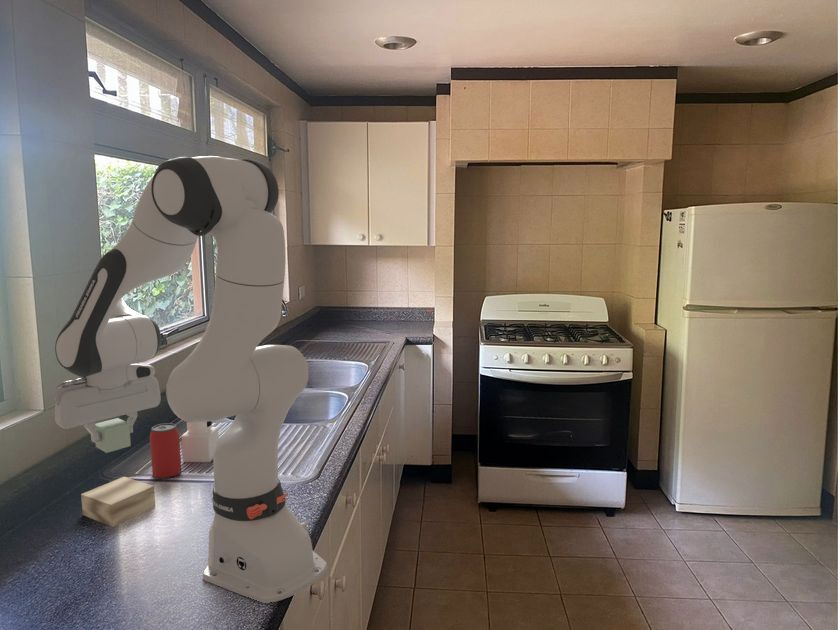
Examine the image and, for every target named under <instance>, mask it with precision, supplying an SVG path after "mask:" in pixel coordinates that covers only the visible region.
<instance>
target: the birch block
mask: <svg viewBox="0 0 840 630" xmlns="http://www.w3.org/2000/svg"><path fill="white" fill-rule="evenodd" d="M80 497H81V498H80V499H81V509H82V516H85V517H87V518H89V519H92V520H94V521H97V522H100V523H102V524H105V525H108V526H109V527H112V528H113V527H115V526H117V525H118V526H119V525H120V524H122V523H124V522H126V521H128V520H130V519H132V518H135V517H136V516H137V517H138V516H139V515H140V514H143V513H146V512H147V511H149V510H151V509H153V508H155V507H156V495H155V485H152V484H149V483H146V482H143V481H139V480H135V479H134V478H130V477H127V476H122V477H119V478H117V479H114V480H112V481H109V482H107V483H105V484H103V485H100V486H97V487H95V488H92V489H90V490H88V491H85V492H83V493H81V494H80Z"/></svg>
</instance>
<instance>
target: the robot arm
mask: <svg viewBox="0 0 840 630" xmlns="http://www.w3.org/2000/svg"><path fill="white" fill-rule="evenodd" d="M279 194H280V193H279V185H278V180H277V179H276V177H275V174H274V173H273V172H272V170H271V169H270V168H269V167H268V166H266V165H265V164H262V163H260V162H258V161H254V160H250V159H237V158H229V157H222V156H220V155H219V156H217V155H216V156H215V155H214V156H213V155H208V156H207V155H206V156H194V157H190V156H179V157H175V158H171V159H167V160H165V161H164V162H162V163H160V164H159V165H158V166H157V168H156V169H155V170H154V173H153V174H152V176H151V177H150V178H149V180H148V182H147V183H146V186H145V187H144V190H143V192H142V193H141V195H140V197H139V199H138V203H137V205H136V207H135V211H134V213H133V217H132V219H131V222H130V225H129V227H128V229H127V230H126V232H125V233H124V235H123V236H122V237H121V239H120V240H119V241H118V242H117V243H116V244H115V245H114V246H113V248H111V249H110V250H108V252H106V253H105V254H103V256H101V258H100V259H99V261H98V263H97V264H96V266H95V268H94V270H93V272H92V274H91V276H90V277H89V280H88V282H87V284H86V286H85V289H84V290H83V293H82V294H81V296H80V298H79V300H78V303H77V305H76V306H75V309H74V311H73V313H72V315H71V317H70V318H69V320H68V321H67V322H66V323H65V325H64V326H63V327H62V329H61V330H60V332H59V333H58V335H57V337H56V340H55V348H54V350H55V356H56V359H57V361H58V363H59V366H61V367H62V368H63V369H65V370H66V371H68V372H69V373H71V374H73V375H75V376H77V377H78V378H75V379H71V380H64V381H61V382H60V383H59V384H57V385H56V386H55V387H54V388H53V391H52V395H53V401H54V403H55V404H54V422H55V424H57V425H58V427H60V428H63V429H64V430H67V429H71V428H76V427H81V426H83V427H84V428H85V430H86V431H88V433H89V434H90V439H91V440H90V441H91V442H92V443H95V442H99V441H102V438H101V437H102V433H100V432H98V431H95V430H94V427H95V424H96V422H97V423H98V422H100V421H101V422H102V421H103V420H105V421H106V420H110V419H111V418H113V419H114V418H118V417H121V416H124V415H126V416H128V417H127V420H126V422H128V423H129V429H130V434H131V433H134V424H135V422H136V421H137V417H138V412H140V411H144V410H148V409H153V408H157V407H158V406H159V405H160V402H162V401H161V390H160V389H161V388H160V384H159V381H158V378H156V376H155V375H156V374H155V373H156V368H155V367H154V366H153V365H150V364H148V363H146V361H149V360H152V359H154V358H155V357H156V355H157V354H158V353H159V351H160V349H161V348H160V347H161V343H162V333H161V330H160V326H159V325H158V323H157V322H156V321H155V320H154V319H153V318H152V317H150V316H148V315H146V314H141V313H139V312H138V311H136V310H134V309H132V308H131V307H129V306H128V305H127V304H126V302H125V300H124V296H126V295H127V294H129V293H130V292H131V291H133V290H135V289H137V288H139V287H140V286H143V285H146V284H149V283H151V282H154V281H156V280H160V279H163V278H166V277H169V276H171V275H173V274H175V273H177V272H178V271H180V270H181V269H182V268H183V267H184V266H185V265H186V264H187V263H188V262H189V259H190V258H191V256H192V255H193V252H194V249H195V247H196V244H197V242H198V239H199V237H204V236H206V235H207V234H209V233H210V234H211V235H212V236H213V238H214V240H215V243H216V247H217V248H216V249H217V255H216V265H215V266H216V267H215V278H214V281H215V282H214V290H213V291H214V292H213V299H212V307H211V314H210V317H209V321H208V324H207V327H206V328H205V331H204V332H203V335H202V336H201V338H200V340H199V341H198V343H197V345H196V346H195V347H194V349H193V350H192V351H191V353H190V354H189V355H188V356H187V357H186V358H185V359H183V361H182V362H181V363H179V364H178V365H177V366H175V367H174V368H173V370H172V371H171V373H170V374H169V377H168V379H167V382H166V388H165V390H166V391H165V394H166V399H167V403H168V406H169V408H170V410H171V411H172V412H173V413H174V414H175V416H177V417H178V418H179V419H180V420H182V421H183V422H184V423H187V422H206V421H212V422H216V421H219V420H224V419H226V418H230V417H234V416H235V418H234V420H233V421H232V423H231V425H230V426H229V428H228V429H227V430H226V431H224V433H223V434H221V435H220V436H219V439H218V440H217V442H216V444H215V446H214V450H213V459H212V460H213V461H212V463H213V479H214V486H213V488H212V495H211V502H212V508H213V511H214V512H215V513H214V517H213V520H212V523H211V525H210V528H209V531H208V534H209V535H208V551H207V553H208V555H207V557H208V558H207V566H206V567H205V569H204V570H203V572H202V579H203V580H204V582H205V581H206V582H208V583H210V584H213V585H215V586H218V587H221V588H223V589H225V590H228V591H231V592H233V593H236V594H238V595H241V596H243V597H245V596H246V598H248V597H249V599H250V598H251V600H253V599H254V600H253V601H255V600H257V601H256V602H258V601H260V602H259V603H261V602H262V603H261V604H265V603H266V604H271V603H270V602H272V603H276V602H279V601H283V600H285V599H287V598H290V597H292V596H294V595H297V594H299V593H300V592H302V591H304V590H306V589H307V588H308V587H310V586H311V585H313V584H314V583H316V582H317V581H319V580H320V579H321V578H322V577H323V576H324V575H325V573H326V572H327V570H328V564H327V563H328V562H327V561H326V560H324V559H323V558H322V557H321V556H320V555H319V554H317V553H316V552H315V551H314V549H313V543H312V539H311V537H310V535H309V526H308V525H307V523H306V522H305V521H303V522H300V521H299V520H298V519H297V517H296V516H295V515H294V514H293V512H292V510H291V509H290V508H289V507H288V506H287V504H286V503H287V502H286V501H287V500H289V498H287V496H288V495H289V494H288V493H284V488H283V486H282V484H281V480H280V479H279V468H278V467H279V464H278V463H279V460H278V459H279V455H278V454H279V440H280V436H281V431H282V428H283V424H284V422H285V420H286V417H287V415H288V412H289V410H290V408H291V407H292V405H293V403H294V402H295V401H296V399H297V398H298V397H299V396H300V395H301V394H302V393H303V391H304V390H305V388H306V386H307V384H308V381H309V367H308V363H307V361H306V358H305V357H304V354H303V353H302V352H301V351H300V350H299V349H298V348H297V347H295V346H292V345H285V344H284V345H283V344H265V345H264V344H263V345H260V346H259V344H260V343H261V342H262V341H263V340H264V339H265V338H266V337H267V336H269V335H270V334H271V333H273V331H274V330H275V329H276V328H277V327H278V325H279V324H280V320H281V317H282V305H283V297H284V287H285V276H286V262H287V261H286V242H285V241H286V240H285V239H286V238H285V231H284V230H285V229H284V227H283V224H282V222H281V220H280V219H279V218H278V217H277V216H275V214H272V212H273V211H274V210H275V209H276V206H277V203H278V200H279ZM79 377H80V378H79Z"/></svg>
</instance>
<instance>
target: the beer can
mask: <svg viewBox="0 0 840 630" xmlns="http://www.w3.org/2000/svg"><path fill="white" fill-rule="evenodd" d="M150 430H151V431H150V433H149V447H150V457H151V458H150V459H151V473H152V476H153V477H154V478H156V479H160V480H161V479H162V478H164V479H169V478H170V477H171V478H174V477H176V476H178V475H179V474H180V473H181V471H182V457H181V456H182V455H181V442H180V433H179V430H178V428H177V424H175V423H172V422H170V423H169V422H165V423H159V424H155V425H154V426H152V427H150ZM173 476H174V477H173Z"/></svg>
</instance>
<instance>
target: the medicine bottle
mask: <svg viewBox="0 0 840 630" xmlns="http://www.w3.org/2000/svg"><path fill="white" fill-rule="evenodd" d="M186 429H187V431H186V432H184V433H183V434H182V435H181V436H180V438H181V439H180V440H181V442H180V443H181V454H182V455H181V456H182V457H181V458H182V462H183V463H211V461H212V460H213V450H214V446H215V444H216V442H217V440H218V439H219V438H220V436H219V435H220V434H219V427H218V426H213V421H206V422H186Z"/></svg>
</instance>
